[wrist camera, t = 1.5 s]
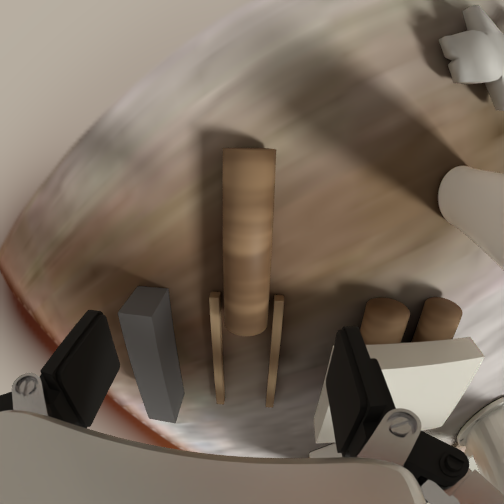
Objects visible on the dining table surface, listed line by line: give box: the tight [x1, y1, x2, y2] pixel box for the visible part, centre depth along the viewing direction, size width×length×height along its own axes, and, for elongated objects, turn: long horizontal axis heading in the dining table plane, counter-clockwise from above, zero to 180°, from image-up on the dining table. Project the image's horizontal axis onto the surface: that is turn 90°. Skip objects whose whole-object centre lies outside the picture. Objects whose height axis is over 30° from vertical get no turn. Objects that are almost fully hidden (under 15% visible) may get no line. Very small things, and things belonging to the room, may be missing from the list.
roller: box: [223, 148, 276, 336], centre depth 22 cm, size 14×4×4 cm, turn 179°
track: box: [209, 292, 462, 407], centre depth 26 cm, size 14×23×4 cm, turn 89°
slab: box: [314, 337, 485, 443], centre depth 23 cm, size 10×14×3 cm
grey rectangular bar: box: [118, 286, 184, 423], centre depth 27 cm, size 14×3×4 cm, turn 179°
